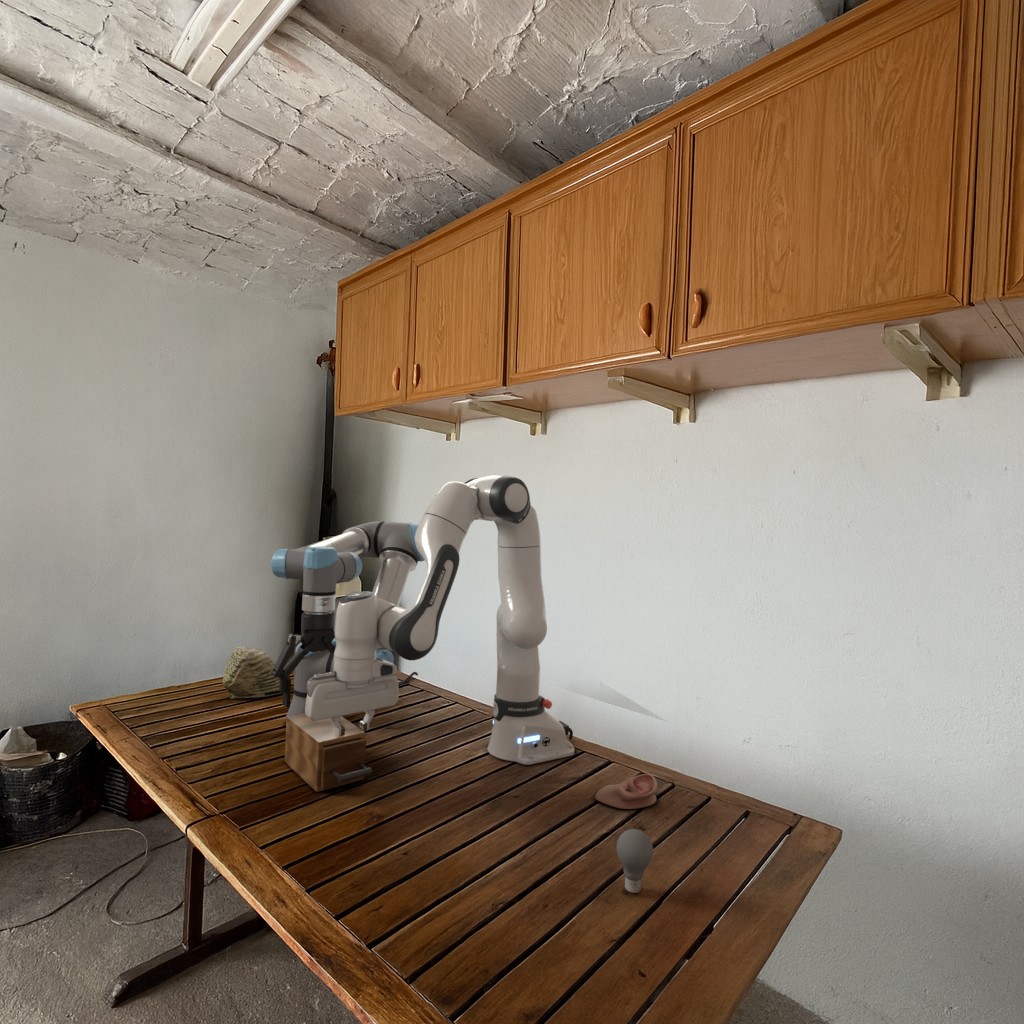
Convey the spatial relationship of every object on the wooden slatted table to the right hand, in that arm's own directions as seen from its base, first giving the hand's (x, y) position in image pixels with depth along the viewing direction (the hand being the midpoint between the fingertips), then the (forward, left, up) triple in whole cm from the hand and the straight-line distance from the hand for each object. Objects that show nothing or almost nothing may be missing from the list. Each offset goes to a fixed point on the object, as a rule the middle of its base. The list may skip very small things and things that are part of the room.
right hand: (352, 732), depth 135 cm
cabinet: (+5, -13, -13) cm, 19 cm away
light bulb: (-41, +47, -13) cm, 64 cm away
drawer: (+3, -8, -12) cm, 15 cm away
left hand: (+7, -19, +1) cm, 20 cm away
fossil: (+21, -75, -13) cm, 79 cm away
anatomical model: (-57, +18, -13) cm, 61 cm away
